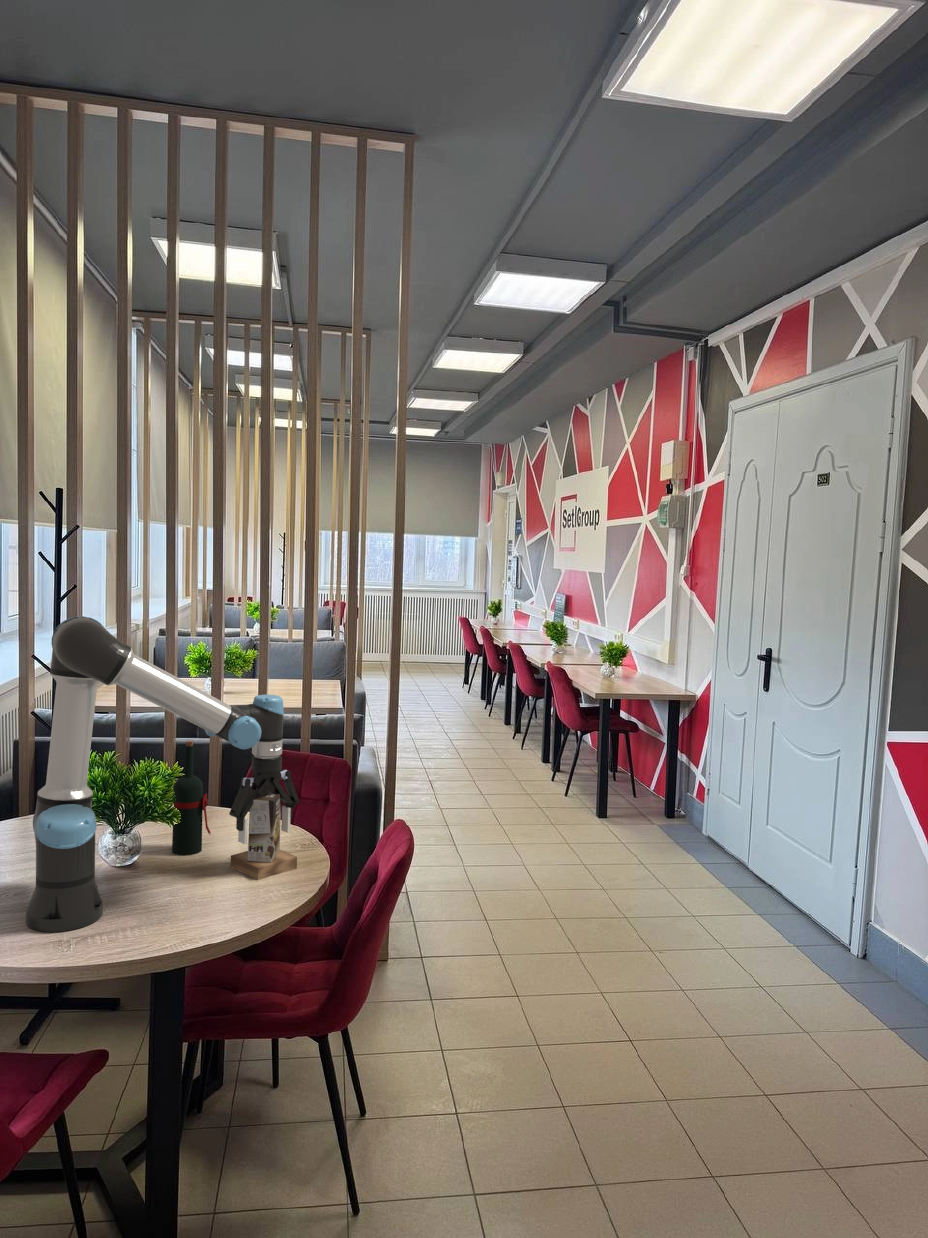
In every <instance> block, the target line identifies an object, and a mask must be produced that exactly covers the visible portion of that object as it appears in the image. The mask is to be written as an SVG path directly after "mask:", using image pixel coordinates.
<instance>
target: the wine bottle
mask: <svg viewBox="0 0 928 1238" xmlns="http://www.w3.org/2000/svg"><path fill="white" fill-rule="evenodd" d="M194 748H195V746H194V740H186V741H185V749H184V751H185V752H184V775H182V776H181V777H180V778H177V780H176V781H175V782H176V783H174V785H173V793H174V792H175V795H176V802H175V803H174V802H173V804H174V807H175V808H177V809H178V810H179V811H180V813H181V819H180V821H181V822H180V823H178V824H175V825H173V824H172V837H171V838H172V842H171V844H172V845H171V854H173V855H175V856H183V857H185V856H194V855H198V854H199V853H201V852H202V851H203V817H204V824H205V829H206V831H207V834H208V835H209V836H211V835H212V833H211V830H210V828H209V826H208V817H207V806H208V804H209V799H208V793H204V784H203V782H202V780H201V779H200V778H199V777H198V776H196V775H194V755H195V754H194V753H195V752H194V751H195V749H194ZM203 813H204V815H203Z"/></svg>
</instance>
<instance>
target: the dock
mask: <svg viewBox="0 0 928 1238" xmlns="http://www.w3.org/2000/svg"><path fill="white" fill-rule="evenodd" d="M230 868H232V869H234V870H236V871H239V872H241V873H243V874H245V875H247V876H249V877H250V878H252V879H255V880H257V881H258V880H262V879H266V878H269V877H272V876H275V875H279V874H281V873H285V872H288V871H293V870H294V869H297V868H298V856H296V855H293V854H291V853H289V852H287V851H284V850H281V849H279V852H278V853H277V855H276V856H275V858H274V859H273V860H272V862H256V861H248V850H245V851H243V852H238V853H236V854H231V855H230Z"/></svg>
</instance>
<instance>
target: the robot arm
mask: <svg viewBox="0 0 928 1238" xmlns="http://www.w3.org/2000/svg"><path fill="white" fill-rule="evenodd" d="M51 648H52V650H51V660H50V661H51V662H50V670H49V672H50V673H49V675H50V676H51V677H52V678H53V679H54V681H55V684H56V685H55V695H54V704H53V711H52V712H53V713H52V721H51V723H52V724H51V733H50V740H49V741H50V743H49V749H48V750H49V753H48V762H47V771H46V781H45V785H44V786H42V787H41V788H40V789H39V790H38V791H37V797H36V805H35V811H34V814H33V818H32V830H33V833H34V840H35V841H34V842H35V843H34V844H35V887H34V889H33V892H32V894H31V897H30V900H29V903H28V906H27V909H26V911H25V924H26V923H27V924H26V926H27V925H28V926H29V927H28V926H27V927H28V928H30V929H32V930H35V931H39V932H49V933H55V932H56V933H57V932H67V931H73V930H77V929H81V928H84V927H87V926H88V925H92V924H93V923H95V922H96V921H98V920H99V919H101V917H102V915H104V914H103V913H104V912H103V911H104V904H103V900H102V896H101V893H100V891H99V888H98V886H97V883H96V880H95V879H96V878H95V877H96V876H95V874H96V873H95V872H96V869H95V868H96V865H95V864H96V830H97V827H98V826H97V825H98V824H97V820H96V814H95V812H94V811H93V809H92V807H93V797H94V796H93V795H94V792H93V790H92V789H91V788H90V787H89V785H88V775H89V768H90V767H89V766H90V757H91V749H92V748H91V746H92V738H93V729H94V728H93V727H94V720H95V711H96V710H95V709H96V701H97V692H98V691H97V690H98V689H97V688H98V684H99V683H102V684H104V685H106V686H112V685H117V686H118V687H121V688H122V689H124V690H126V691H129V692H130V693H132V694H135V695H137V696H138V697H140V698H141V699H144V700H146V701H149V702H150V703H152V704H154V705H156V706H158V707H160V708H161V709H164V710H166V711H168V712H170V713H172V714H173V715H176V716H177V717H180V718H182V719H184V721H185V720H186V721H187V722H189V723H191V724H193V725H195V726H198V727H199V728H201V729H203V730H204V732H205V733H206V735H207V736H209V737H218V738H221V739H222V740H224V741H226V742H228V743H230V744H231V746H233V747H235V748H237V749H241V750H249V749H251V754H252V755H253V756H252V757H251V771H252V775H251V777H244V776H243V777H241V779H240V787H239V789H238V792H237V794H236V796H235V799H234V801H233V803H232V806H231V808H230V810H229V814H228V815H229V816H231V817H234V818H235V819H236V821H235V822H236V823H235V825H236V826H235V828H236V830H237V831H238V835H237V836H238V837H237V839H238V840H237V841H238V842H239V843H240V844H243V845H246V844H247V845H248V827H249V821H248V819H249V818H248V817H246V816H247V815H248V813H249V812H250V808H251V807H252V805H253V800H255V799H257V797H258V796H260V795H261V793H265V792H267V791H275V792H277V793H280V795H281V802H283V804H284V805H281V824H280V831H282V832H284V833H288V834H289V833H290V832H291V819H292V818H293V809H294V808H296V806H297V804H299V803H300V799H299V796H298V795H299V794H298V793H297V791H296V788H295V786H294V782H293V780H292V772H291V771H290V770H287V769H282V768H283V767H282V766H283V765H282V764H283V756H282V755H283V734H284V733H283V728H284V716H285V713H284V710H285V709H284V699H283V697H281V696H280V695H277V694H259V695H255V696H254V697H253V701H252V703H249V704H228V703H226V702H224V701H222V700H221V699H219V698H216V697H214V696H212V695H211V694H209V693H207V692H206V691H204V690H201V689H200V688H197V687H196V686H194V685H192V684H190V683H189V682H187V681H185V680H183V679H181V678H179V677H177V676H175V675H174V674H172V673H170V672H168V671H166V670H164V669H162V668H161V667H158V666H157V665H155V664H153V663H151V662H150V661H148V660H146V659H144V658H142V657H141V656H138V655H136V654H135V653H134V650H133V647H131V646H130V645H127V644H125V643H124V642H122V641H121V640H119V639H118V638H117V637H115V636H114V635H113V634H112V633H110V632H109V630H107V629H106V628H105V626H104V625H103V624H102V623H101V622H100V621H98V620H96V619H95V618H92V617H87V616H73V617H69V618H66V619H65V620H63V621H62V622H61V623H59V624H58V625H57V627H56V628H55V630H54V631H53V633H52V636H51ZM280 780H282V783H283V786H284V787H285V790H284V788H283V786H282V785H281V784H280Z"/></svg>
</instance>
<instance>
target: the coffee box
mask: <svg viewBox="0 0 928 1238" xmlns="http://www.w3.org/2000/svg"><path fill="white" fill-rule="evenodd" d="M248 815H249V818H248V819H249V821H248V838H247V851H248V861H256V862H272V860H273V859H274V858H275V856H276V855H277V853H278V852H279V849H280V845H281V844H280V843H281V823H282V800H281V795H280V793H277V792H275V791H274V790H273V791H267V792H265V793H261V795H260V796H258V797H257V799H255V800H253V805H252V807H251V808H250V810H249V814H248ZM280 850H281V849H280Z"/></svg>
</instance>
